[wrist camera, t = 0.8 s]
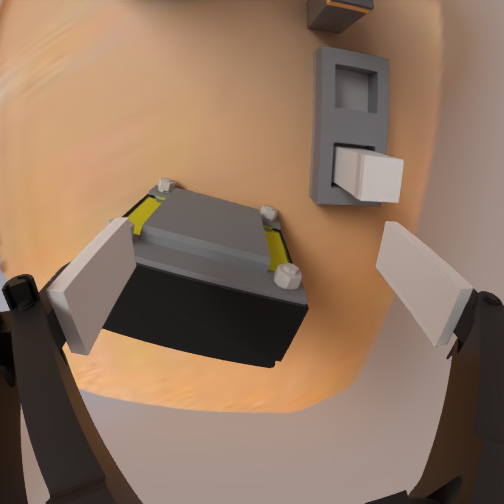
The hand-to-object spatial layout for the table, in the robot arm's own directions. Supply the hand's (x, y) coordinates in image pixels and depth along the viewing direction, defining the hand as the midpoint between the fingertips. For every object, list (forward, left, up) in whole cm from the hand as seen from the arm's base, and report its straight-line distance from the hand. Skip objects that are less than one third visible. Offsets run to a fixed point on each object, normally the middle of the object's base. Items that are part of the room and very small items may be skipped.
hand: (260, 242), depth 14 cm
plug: (-22, +10, -25) cm, 35 cm away
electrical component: (+8, -5, -25) cm, 27 cm away
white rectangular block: (-1, +13, -24) cm, 27 cm away
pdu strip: (-6, +13, -25) cm, 29 cm away
